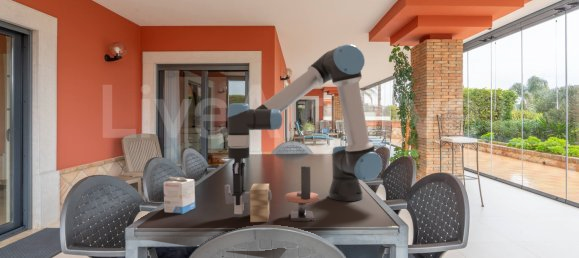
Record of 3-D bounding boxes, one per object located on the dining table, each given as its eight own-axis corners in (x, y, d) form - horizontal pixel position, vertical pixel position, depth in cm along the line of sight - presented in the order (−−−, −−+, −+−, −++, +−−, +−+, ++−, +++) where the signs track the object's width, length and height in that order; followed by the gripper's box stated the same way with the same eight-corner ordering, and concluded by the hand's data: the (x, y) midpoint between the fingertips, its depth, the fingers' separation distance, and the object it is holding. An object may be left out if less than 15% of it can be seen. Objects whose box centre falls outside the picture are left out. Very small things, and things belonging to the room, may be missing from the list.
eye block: (269, 213, 122) (269, 183, 121) (267, 221, 112) (267, 189, 111) (253, 213, 121) (253, 183, 121) (250, 222, 111) (250, 189, 111)
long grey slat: (271, 198, 118) (270, 181, 118) (271, 200, 115) (269, 182, 114) (227, 201, 118) (226, 184, 118) (225, 204, 115) (224, 186, 114)
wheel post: (312, 213, 121) (312, 196, 120) (314, 220, 113) (314, 202, 112) (290, 213, 121) (290, 196, 120) (291, 220, 113) (290, 202, 112)
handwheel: (281, 195, 121) (281, 163, 120) (312, 193, 124) (312, 162, 123) (290, 204, 109) (290, 168, 109) (323, 201, 112) (323, 166, 112)
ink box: (195, 208, 129) (195, 174, 128) (182, 214, 121) (181, 178, 120) (177, 206, 132) (177, 173, 131) (163, 212, 124) (162, 177, 123)
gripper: (231, 144, 124) (232, 205, 124) (223, 149, 107) (224, 219, 108) (251, 144, 124) (251, 205, 125) (246, 149, 107) (246, 219, 108)
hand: (239, 211), depth 116 cm, fingers closed on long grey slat, 3 cm apart
